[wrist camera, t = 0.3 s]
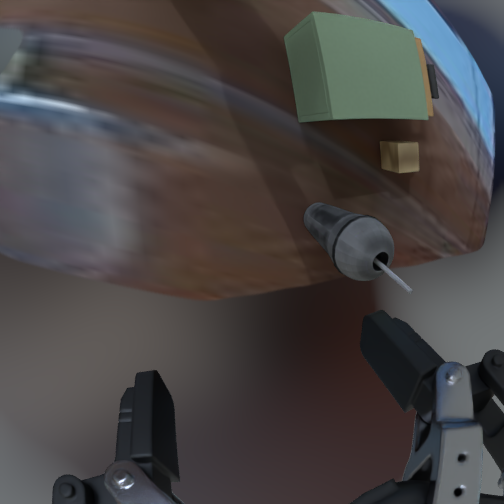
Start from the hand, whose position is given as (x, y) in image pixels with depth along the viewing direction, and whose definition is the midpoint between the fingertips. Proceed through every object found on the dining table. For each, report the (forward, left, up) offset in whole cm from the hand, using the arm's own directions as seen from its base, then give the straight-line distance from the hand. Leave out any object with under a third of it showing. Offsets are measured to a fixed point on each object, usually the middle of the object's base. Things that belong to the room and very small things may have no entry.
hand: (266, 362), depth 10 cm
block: (-2, +29, -28) cm, 40 cm away
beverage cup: (+6, +15, -29) cm, 33 cm away
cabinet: (-14, +21, -28) cm, 38 cm away
